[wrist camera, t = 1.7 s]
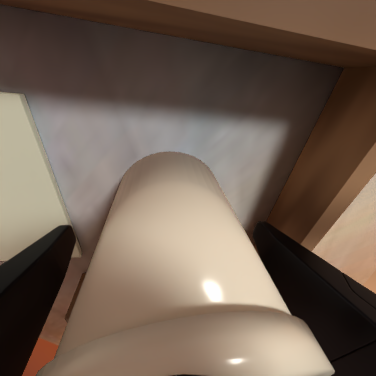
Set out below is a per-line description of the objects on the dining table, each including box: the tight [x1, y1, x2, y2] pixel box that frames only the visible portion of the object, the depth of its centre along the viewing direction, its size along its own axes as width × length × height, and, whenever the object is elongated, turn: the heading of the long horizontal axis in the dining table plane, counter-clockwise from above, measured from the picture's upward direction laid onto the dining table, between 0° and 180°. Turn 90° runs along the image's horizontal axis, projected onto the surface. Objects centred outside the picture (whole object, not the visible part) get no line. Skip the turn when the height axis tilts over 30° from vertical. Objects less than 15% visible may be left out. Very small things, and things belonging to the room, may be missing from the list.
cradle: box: [0, 0, 376, 323], centre depth 9 cm, size 17×15×3 cm
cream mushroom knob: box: [36, 152, 335, 376], centre depth 8 cm, size 9×6×8 cm
